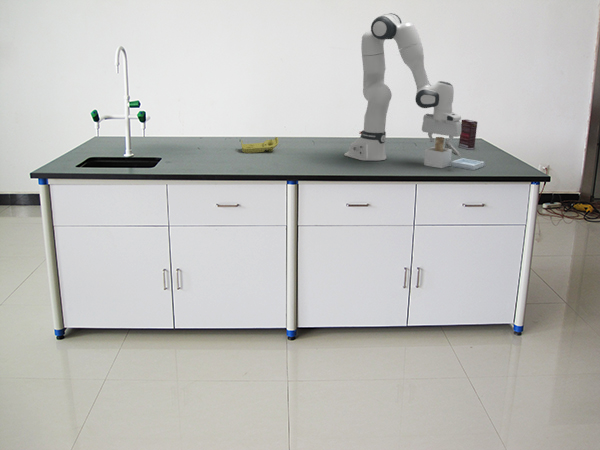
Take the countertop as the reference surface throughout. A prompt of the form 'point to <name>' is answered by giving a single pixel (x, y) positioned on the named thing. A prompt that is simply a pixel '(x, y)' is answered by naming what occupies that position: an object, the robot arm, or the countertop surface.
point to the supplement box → (468, 134)
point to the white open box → (437, 158)
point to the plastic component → (259, 146)
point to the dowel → (439, 144)
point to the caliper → (451, 148)
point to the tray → (467, 164)
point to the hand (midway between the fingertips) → (439, 143)
